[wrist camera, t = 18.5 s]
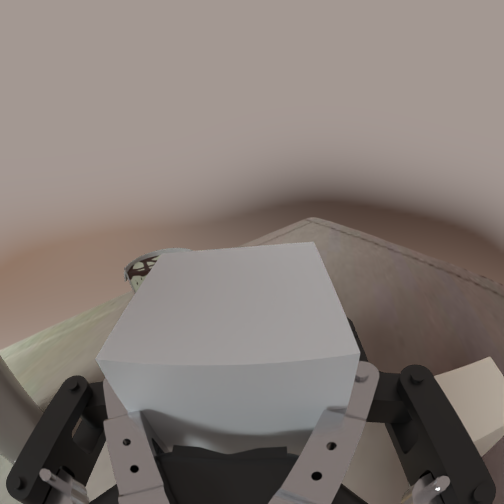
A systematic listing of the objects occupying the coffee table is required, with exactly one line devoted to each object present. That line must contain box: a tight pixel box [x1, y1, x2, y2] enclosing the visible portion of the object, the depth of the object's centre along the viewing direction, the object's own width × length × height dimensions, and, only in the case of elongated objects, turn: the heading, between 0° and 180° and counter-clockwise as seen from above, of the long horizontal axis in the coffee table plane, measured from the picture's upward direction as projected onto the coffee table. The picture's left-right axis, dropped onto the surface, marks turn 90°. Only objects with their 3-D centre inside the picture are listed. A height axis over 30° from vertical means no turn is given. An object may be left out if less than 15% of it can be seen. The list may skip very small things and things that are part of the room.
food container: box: [124, 248, 192, 294], centre depth 43 cm, size 12×6×10 cm, turn 95°
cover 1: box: [95, 242, 360, 455], centre depth 11 cm, size 7×7×10 cm
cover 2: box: [409, 357, 504, 486], centre depth 15 cm, size 7×7×10 cm
